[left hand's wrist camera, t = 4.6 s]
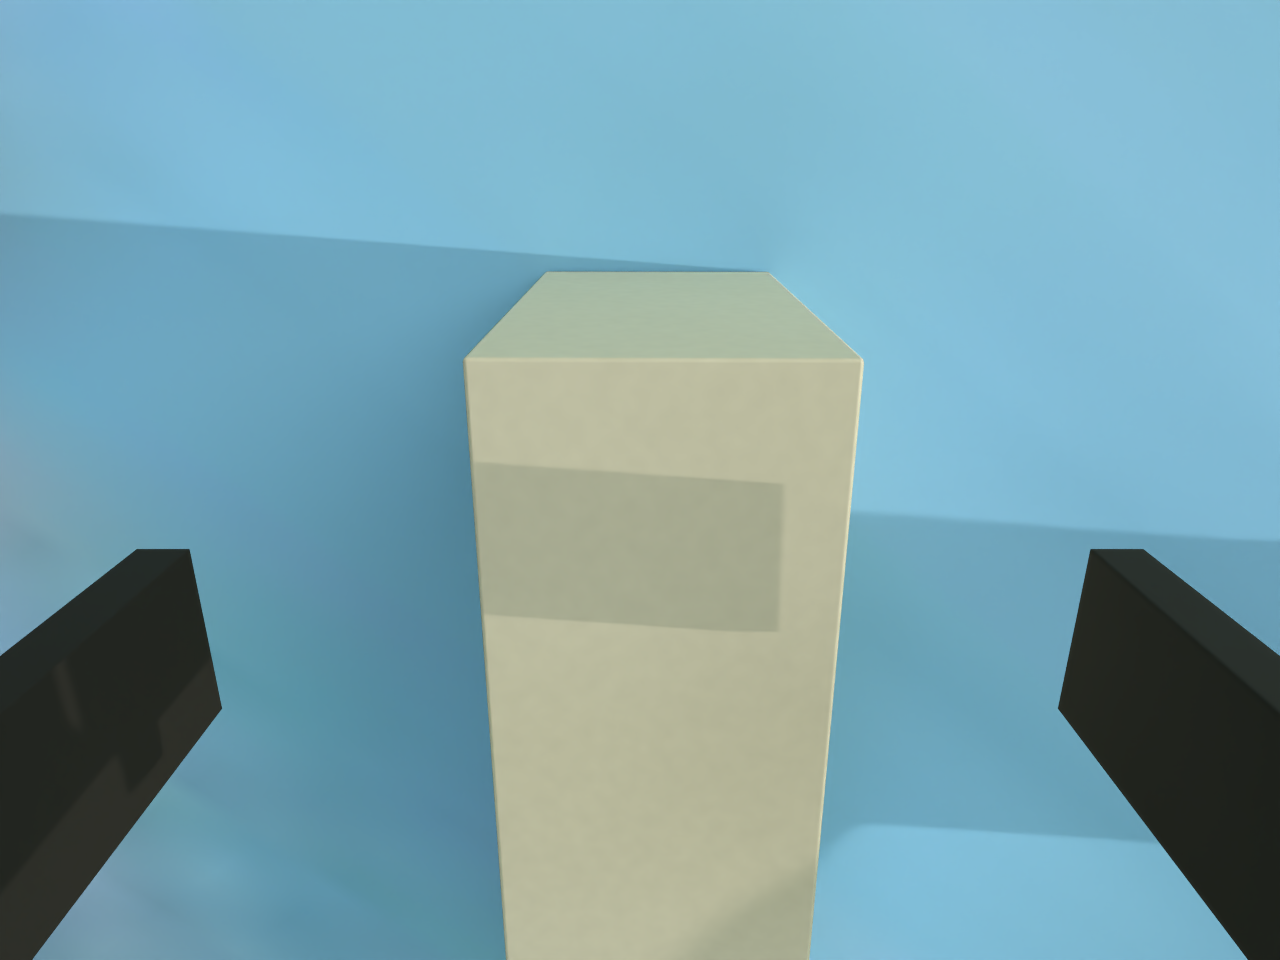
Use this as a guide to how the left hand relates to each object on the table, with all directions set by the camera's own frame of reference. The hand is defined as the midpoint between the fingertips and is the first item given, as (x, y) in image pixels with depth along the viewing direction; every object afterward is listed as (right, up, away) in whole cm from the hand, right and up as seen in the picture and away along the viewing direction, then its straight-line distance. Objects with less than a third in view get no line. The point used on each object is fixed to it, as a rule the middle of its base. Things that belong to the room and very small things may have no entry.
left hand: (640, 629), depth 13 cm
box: (0, -4, +15) cm, 16 cm away
